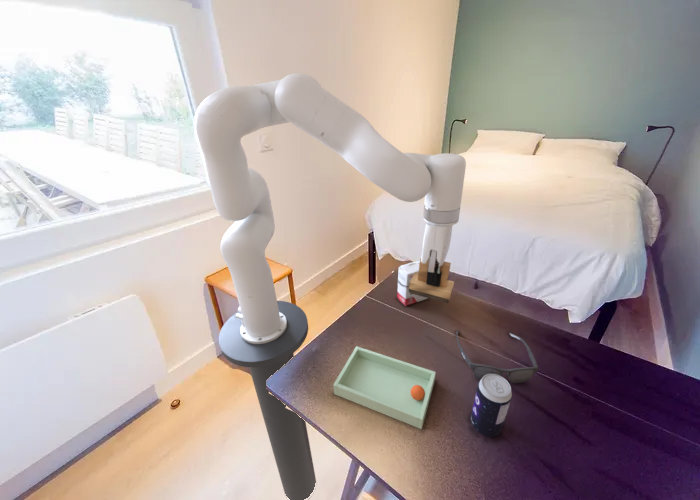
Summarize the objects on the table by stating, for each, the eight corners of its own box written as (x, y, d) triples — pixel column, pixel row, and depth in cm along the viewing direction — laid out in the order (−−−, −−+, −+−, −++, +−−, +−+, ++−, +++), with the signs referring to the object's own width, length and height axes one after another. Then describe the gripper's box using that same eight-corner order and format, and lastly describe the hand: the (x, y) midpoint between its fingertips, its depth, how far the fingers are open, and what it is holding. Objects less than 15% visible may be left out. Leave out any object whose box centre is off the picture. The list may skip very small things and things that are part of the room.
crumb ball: (411, 391, 65) (425, 398, 64) (414, 379, 67) (428, 386, 67) (407, 398, 67) (420, 405, 66) (410, 387, 69) (423, 394, 68)
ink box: (405, 306, 95) (406, 274, 89) (396, 298, 99) (397, 266, 93) (428, 298, 98) (431, 266, 92) (419, 290, 101) (422, 259, 96)
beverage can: (490, 409, 65) (501, 369, 59) (506, 436, 60) (520, 395, 54) (464, 414, 64) (473, 374, 58) (479, 442, 59) (490, 401, 53)
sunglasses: (464, 384, 70) (467, 366, 68) (450, 336, 86) (452, 321, 84) (542, 388, 68) (547, 371, 66) (514, 339, 84) (517, 323, 82)
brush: (408, 293, 79) (411, 261, 74) (413, 283, 83) (417, 251, 78) (448, 304, 75) (455, 271, 70) (452, 292, 79) (458, 260, 74)
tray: (334, 394, 69) (333, 384, 68) (356, 354, 79) (356, 346, 78) (421, 429, 62) (422, 419, 60) (434, 381, 71) (436, 371, 70)
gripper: (432, 199, 76) (426, 264, 85) (414, 224, 64) (410, 297, 73) (464, 202, 73) (455, 269, 82) (452, 230, 61) (443, 304, 70)
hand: (434, 282), depth 77 cm, fingers closed on brush
